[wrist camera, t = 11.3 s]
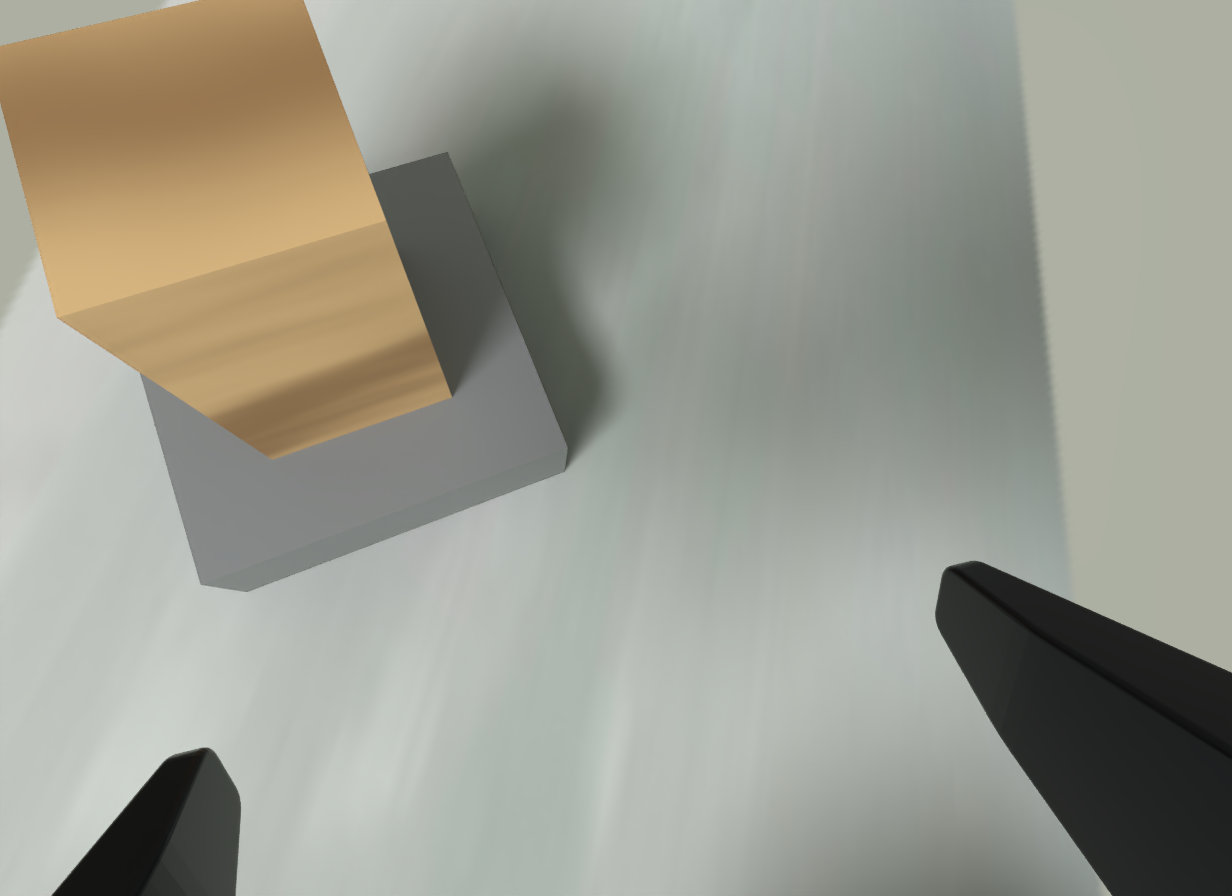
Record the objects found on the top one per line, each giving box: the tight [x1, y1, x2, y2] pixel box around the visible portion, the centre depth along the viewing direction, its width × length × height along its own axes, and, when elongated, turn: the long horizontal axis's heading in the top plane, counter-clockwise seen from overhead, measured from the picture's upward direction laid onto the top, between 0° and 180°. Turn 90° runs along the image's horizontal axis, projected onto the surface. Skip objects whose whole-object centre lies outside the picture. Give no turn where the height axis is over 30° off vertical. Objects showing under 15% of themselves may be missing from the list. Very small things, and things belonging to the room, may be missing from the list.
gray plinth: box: [140, 152, 568, 592], centre depth 22 cm, size 10×10×3 cm
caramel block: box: [0, 0, 452, 460], centre depth 16 cm, size 5×5×9 cm
